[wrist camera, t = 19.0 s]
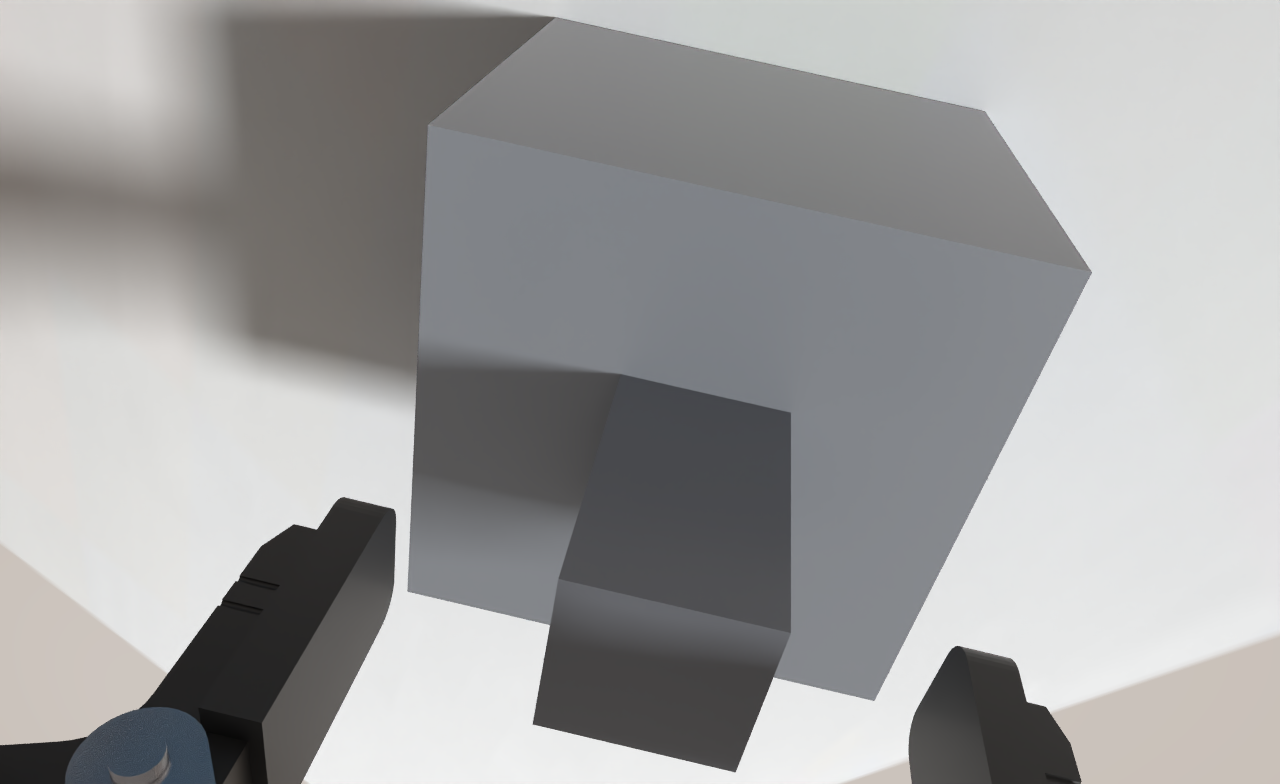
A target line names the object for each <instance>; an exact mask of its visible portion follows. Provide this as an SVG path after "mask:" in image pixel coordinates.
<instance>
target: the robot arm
mask: <svg viewBox="0 0 1280 784" xmlns="http://www.w3.org/2000/svg"><path fill="white" fill-rule="evenodd" d="M395 535H396V514H395V511H394V509H391V508H387V507H383V506H378V505H374V504H370V503H366V502H362V501H357V500H353V499H349V498H345V497H342V498H340V499H338V500H337V501H336V503H335V504H334V505H333V507H332V508H331V510H330V511H329V513H328V514H327V516H326V517H325V519H324V520H323V522H322V523H321V525H320V526H319V528H318V529H317V530H316V529H312V528H307V527H303V526H299V525H295V524H294V525H292V526H291V527H289V528H288V529H286V530H285V531H283V532H282V533H280V534H279V535H277V536H276V537H274V538H273V539H271V540H270V541H268V542H267V543H265V544H264V545H262V546H261V547H260V549H259V550H258V551H257V553H256V554H255V555H254V557H253V558H252V560H251V561H250V562H249V564H248V565H247V566H246V568H245V569H244V571H243V572H242V573H241V575H240V578H239V581H238V582H237V581H235V583H234V584H233V586H232V587H231V588H230V590H229V591H228V592H227V594H226V595H225V597H224V598H223V599H222V604H221V605H220V606H217V607H216V609H215V610H214V612H213V613H212V614H211V616H210V617H209V618H208V620H207V621H206V623H205V624H204V625H203V627H202V628H201V629H200V631H199V632H198V633H197V635H196V636H195V638H194V639H193V640H192V642H191V643H190V644H189V646H188V647H187V649H186V650H185V651H184V653H183V654H182V655H181V657H180V658H179V659H178V661H177V662H176V664H175V665H174V666H173V668H172V669H171V670H170V672H169V673H168V674H167V676H166V677H165V679H164V680H163V681H162V683H161V684H160V685H159V687H158V688H157V690H156V691H155V692H154V694H153V695H152V696H151V697H150V698H149V700H148V701H147V702H146V703H145V704H144V705H143V706H142V707H141V708H139V709H138V710H133V711H130V712H128V713H125V714H122V715H120V716H117V717H115V718H113V719H111V720H109V721H108V722H106V723H105V724H103V725H101V726H100V727H98V728H97V729H96V730H95V731H93V732H92V733H91V734H90V735H89V736H88V737H84V738H80V739H75V740H69V741H60V742H46V743H30V744H15V745H0V784H301V783H302V781H303V779H304V777H305V775H306V773H307V771H308V769H309V767H310V765H311V763H312V761H313V759H314V757H315V755H316V753H317V751H318V750H319V748H320V746H321V744H322V742H323V740H324V738H325V736H326V734H327V732H328V730H329V728H330V726H331V724H332V722H333V720H334V718H335V716H336V714H337V712H338V710H339V709H340V707H341V705H342V703H343V701H344V699H345V697H346V695H347V693H348V691H349V689H350V687H351V685H352V683H353V681H354V679H355V677H356V675H357V673H358V671H359V669H360V667H361V666H362V664H363V662H364V660H365V658H366V656H367V654H368V652H369V650H370V648H371V646H372V644H373V642H374V640H375V638H376V636H377V634H378V632H379V630H380V628H381V626H382V624H383V622H384V620H385V617H386V614H387V611H388V608H389V605H390V601H391V597H392V593H393V587H394V567H395ZM909 762H910V770H911V779H912V784H1081V778H1080V775H1079V772H1078V768H1077V765H1076V761H1075V758H1074V755H1073V751H1072V747H1071V744H1070V742H1069V741H1068V739H1067V738H1066V736H1065V735H1064V733H1063V732H1062V730H1061V729H1060V727H1059V726H1058V724H1057V723H1056V721H1055V720H1054V718H1053V717H1052V715H1051V714H1050V712H1049V711H1048V709H1047V708H1046V707H1044V706H1040V705H1036V704H1032V703H1028V702H1027V701H1026V697H1025V694H1024V690H1023V686H1022V682H1021V678H1020V674H1019V670H1018V667H1017V665H1016V663H1015V662H1014V661H1013V660H1012V659H1011V658H1006V657H1002V656H998V655H994V654H990V653H985V652H981V651H977V650H973V649H969V648H964V647H960V646H955V647H954V648H953V649H952V650H951V651H950V652H949V654H948V655H947V657H946V659H945V661H944V662H943V664H942V666H941V668H940V669H939V671H938V673H937V675H936V676H935V678H934V680H933V682H932V683H931V685H930V687H929V689H928V691H927V692H926V694H925V696H924V698H923V699H922V701H921V703H920V705H919V706H918V708H917V710H916V712H915V715H914V717H913V721H912V725H911V729H910V736H909Z"/></svg>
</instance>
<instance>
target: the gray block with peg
mask: <svg viewBox="0 0 1280 784" xmlns="http://www.w3.org/2000/svg"><path fill="white" fill-rule="evenodd" d="M1091 273H1092V272H1091V270H1090V269H1089V267H1088V266H1087V264H1086V263H1085V261H1084V260H1083V258H1082V257H1081V255H1080V254H1079V252H1078V251H1077V249H1076V248H1075V246H1074V245H1073V243H1072V242H1071V240H1070V239H1069V237H1068V236H1067V234H1066V233H1065V231H1064V230H1063V228H1062V227H1061V225H1060V224H1059V222H1058V221H1057V219H1056V218H1055V216H1054V215H1053V213H1052V212H1051V210H1050V209H1049V207H1048V206H1047V204H1046V203H1045V201H1044V200H1043V198H1042V196H1041V195H1040V193H1039V192H1038V190H1037V189H1036V187H1035V186H1034V184H1033V183H1032V181H1031V180H1030V178H1029V177H1028V175H1027V174H1026V172H1025V171H1024V169H1023V168H1022V166H1021V165H1020V163H1019V162H1018V160H1017V159H1016V157H1015V156H1014V154H1013V153H1012V151H1011V150H1010V148H1009V147H1008V145H1007V144H1006V142H1005V141H1004V139H1003V138H1002V136H1001V135H1000V133H999V132H998V130H997V129H996V127H995V126H994V124H993V123H992V121H991V120H990V118H989V117H988V115H987V114H986V112H985V111H981V110H976V109H971V108H967V107H962V106H958V105H953V104H949V103H944V102H939V101H935V100H930V99H926V98H921V97H917V96H912V95H907V94H903V93H898V92H894V91H889V90H885V89H880V88H875V87H871V86H866V85H862V84H857V83H853V82H848V81H843V80H839V79H834V78H830V77H825V76H821V75H816V74H811V73H807V72H802V71H798V70H793V69H789V68H784V67H779V66H775V65H770V64H766V63H761V62H757V61H752V60H747V59H743V58H738V57H734V56H729V55H725V54H720V53H715V52H711V51H706V50H702V49H697V48H693V47H688V46H683V45H679V44H674V43H670V42H665V41H661V40H656V39H651V38H647V37H642V36H638V35H633V34H629V33H624V32H619V31H615V30H610V29H606V28H601V27H597V26H592V25H587V24H583V23H578V22H574V21H569V20H565V19H560V18H554V19H553V20H552V21H551V22H549V23H548V24H547V25H546V26H545V27H543V28H542V29H541V30H540V31H539V32H538V33H536V34H535V35H534V36H533V37H532V38H530V39H529V40H528V41H527V42H526V43H524V44H523V45H522V46H521V47H520V48H519V49H517V50H516V51H515V52H514V53H513V54H511V55H510V56H509V57H508V58H507V59H505V60H504V61H503V62H502V63H501V64H499V65H498V66H497V67H496V68H495V69H494V70H492V71H491V72H490V73H489V74H488V75H486V76H485V77H484V78H483V79H482V80H480V81H479V82H478V83H477V84H476V85H475V86H473V87H472V88H471V89H470V90H469V91H467V92H466V93H465V94H464V95H463V96H461V97H460V98H459V99H458V100H457V101H456V102H454V103H453V104H452V105H451V106H450V107H448V108H447V109H446V110H445V111H444V112H442V113H441V114H440V115H439V116H438V117H436V118H435V119H434V120H433V121H432V122H431V123H429V124H428V133H427V156H426V179H425V202H424V225H423V248H422V271H421V294H420V317H419V340H418V363H417V386H416V409H415V432H414V455H413V478H412V501H411V524H410V547H409V570H408V592H412V593H416V594H420V595H425V596H429V597H433V598H437V599H442V600H446V601H450V602H454V603H459V604H463V605H467V606H471V607H476V608H480V609H484V610H489V611H493V612H497V613H501V614H506V615H510V616H514V617H518V618H523V619H527V620H531V621H535V622H540V623H544V624H548V625H550V629H549V635H548V640H547V646H546V652H545V658H544V663H543V669H542V675H541V680H540V686H539V692H538V697H537V703H536V709H535V715H534V720H533V724H534V725H538V726H542V727H546V728H551V729H555V730H559V731H563V732H568V733H572V734H576V735H580V736H584V737H589V738H593V739H597V740H601V741H606V742H610V743H614V744H618V745H622V746H627V747H631V748H635V749H639V750H643V751H648V752H652V753H656V754H660V755H665V756H669V757H673V758H677V759H681V760H686V761H690V762H694V763H698V764H703V765H707V766H711V767H715V768H719V769H724V770H728V771H732V772H736V770H737V767H738V765H739V762H740V760H741V757H742V755H743V752H744V750H745V747H746V745H747V742H748V740H749V737H750V735H751V732H752V730H753V727H754V725H755V722H756V720H757V717H758V715H759V712H760V710H761V707H762V705H763V702H764V700H765V697H766V695H767V692H768V690H769V687H770V685H771V682H772V679H773V677H774V678H779V679H783V680H787V681H792V682H796V683H800V684H804V685H809V686H813V687H817V688H821V689H826V690H830V691H834V692H838V693H843V694H847V695H851V696H856V697H860V698H864V699H868V700H873V701H874V700H875V699H876V697H877V695H878V693H879V691H880V689H881V687H882V685H883V683H884V681H885V679H886V677H887V675H888V673H889V671H890V669H891V667H892V665H893V663H894V661H895V659H896V657H897V655H898V653H899V651H900V649H901V647H902V645H903V643H904V641H905V639H906V637H907V635H908V634H909V632H910V630H911V628H912V626H913V624H914V622H915V620H916V618H917V616H918V614H919V612H920V610H921V608H922V606H923V604H924V602H925V600H926V598H927V596H928V594H929V592H930V590H931V588H932V586H933V584H934V582H935V580H936V578H937V576H938V574H939V572H940V570H941V569H942V567H943V565H944V563H945V561H946V559H947V557H948V555H949V553H950V551H951V549H952V547H953V545H954V543H955V541H956V539H957V537H958V535H959V533H960V531H961V529H962V527H963V525H964V523H965V521H966V519H967V517H968V515H969V513H970V511H971V509H972V507H973V505H974V504H975V502H976V500H977V498H978V496H979V494H980V492H981V490H982V488H983V486H984V484H985V482H986V480H987V478H988V476H989V474H990V472H991V470H992V468H993V466H994V464H995V462H996V460H997V458H998V456H999V454H1000V452H1001V450H1002V448H1003V446H1004V444H1005V442H1006V440H1007V439H1008V437H1009V435H1010V433H1011V431H1012V429H1013V427H1014V425H1015V423H1016V421H1017V419H1018V417H1019V415H1020V413H1021V411H1022V409H1023V407H1024V405H1025V403H1026V401H1027V399H1028V397H1029V395H1030V393H1031V391H1032V389H1033V387H1034V385H1035V383H1036V381H1037V379H1038V377H1039V376H1040V374H1041V372H1042V370H1043V368H1044V366H1045V364H1046V362H1047V360H1048V358H1049V356H1050V354H1051V352H1052V350H1053V348H1054V346H1055V344H1056V342H1057V340H1058V338H1059V336H1060V334H1061V332H1062V330H1063V328H1064V326H1065V324H1066V322H1067V320H1068V318H1069V316H1070V314H1071V312H1072V311H1073V309H1074V307H1075V305H1076V303H1077V301H1078V299H1079V297H1080V295H1081V293H1082V291H1083V289H1084V287H1085V285H1086V283H1087V281H1088V279H1089V277H1090V275H1091Z"/></svg>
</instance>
